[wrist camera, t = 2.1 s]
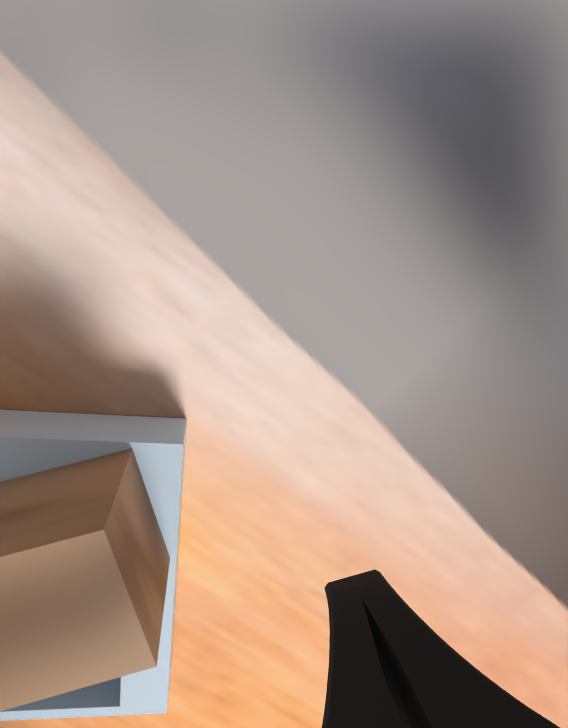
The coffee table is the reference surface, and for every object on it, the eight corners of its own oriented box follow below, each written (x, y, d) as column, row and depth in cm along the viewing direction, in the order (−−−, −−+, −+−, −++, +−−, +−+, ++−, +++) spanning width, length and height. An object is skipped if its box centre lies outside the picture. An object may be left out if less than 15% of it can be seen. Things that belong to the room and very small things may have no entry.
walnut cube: (170, 558, 20) (156, 666, 15) (44, 592, 19) (-11, 714, 15) (132, 448, 18) (104, 529, 13) (-6, 482, 18) (-85, 579, 13)
